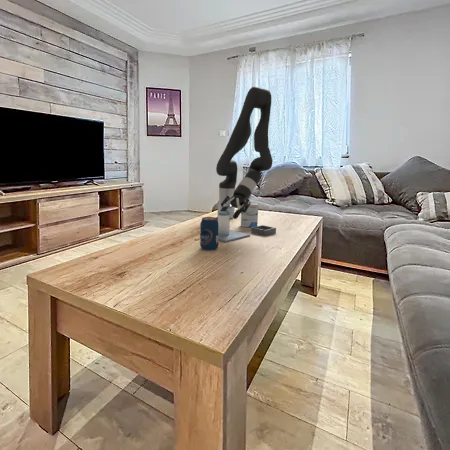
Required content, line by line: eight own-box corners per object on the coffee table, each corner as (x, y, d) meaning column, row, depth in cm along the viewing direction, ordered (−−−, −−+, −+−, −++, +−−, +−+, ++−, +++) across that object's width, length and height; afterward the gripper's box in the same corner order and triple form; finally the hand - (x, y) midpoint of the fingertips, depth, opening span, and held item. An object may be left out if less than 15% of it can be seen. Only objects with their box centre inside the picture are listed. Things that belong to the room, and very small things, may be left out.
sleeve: (251, 232, 148) (251, 227, 148) (262, 229, 154) (262, 225, 154) (265, 235, 143) (265, 230, 142) (275, 233, 149) (276, 227, 148)
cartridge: (215, 234, 141) (215, 212, 138) (223, 232, 144) (223, 210, 142) (224, 236, 137) (224, 213, 135) (231, 234, 141) (231, 212, 139)
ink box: (257, 225, 164) (258, 203, 162) (257, 227, 159) (258, 204, 157) (241, 224, 165) (241, 202, 163) (240, 226, 160) (241, 204, 158)
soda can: (197, 249, 119) (197, 219, 117) (205, 245, 126) (205, 216, 123) (213, 252, 117) (213, 220, 114) (221, 247, 123) (221, 217, 120)
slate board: (199, 235, 141) (199, 233, 141) (224, 230, 152) (224, 228, 152) (225, 242, 130) (225, 240, 130) (250, 236, 141) (250, 234, 141)
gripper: (230, 182, 149) (212, 209, 143) (253, 185, 139) (235, 213, 134) (237, 193, 154) (220, 218, 148) (260, 196, 144) (242, 224, 139)
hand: (227, 216), depth 141 cm, fingers open, 8 cm apart
